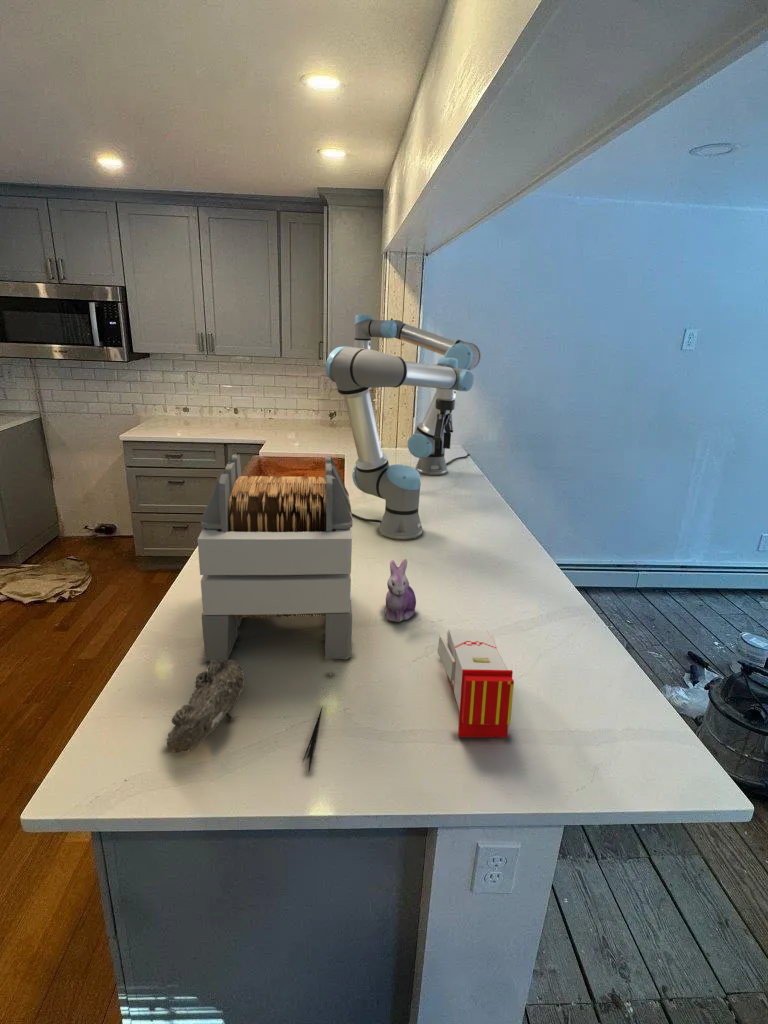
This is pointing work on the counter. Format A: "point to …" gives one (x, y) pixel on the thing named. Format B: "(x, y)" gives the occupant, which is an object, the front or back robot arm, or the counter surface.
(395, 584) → the figurine
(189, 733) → the fossil
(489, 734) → the toy
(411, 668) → the counter surface
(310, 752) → the feather
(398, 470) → the front robot arm
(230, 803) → the counter surface
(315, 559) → the record storage crate
